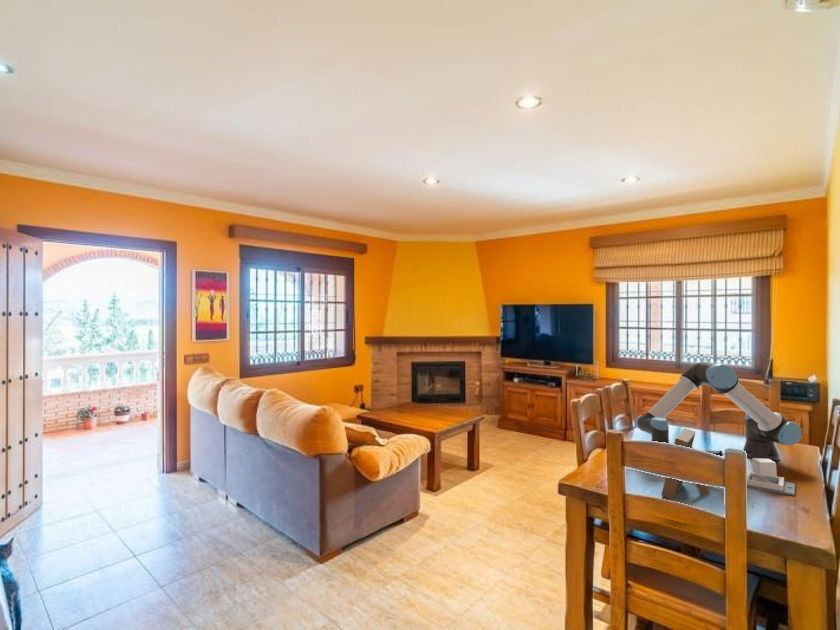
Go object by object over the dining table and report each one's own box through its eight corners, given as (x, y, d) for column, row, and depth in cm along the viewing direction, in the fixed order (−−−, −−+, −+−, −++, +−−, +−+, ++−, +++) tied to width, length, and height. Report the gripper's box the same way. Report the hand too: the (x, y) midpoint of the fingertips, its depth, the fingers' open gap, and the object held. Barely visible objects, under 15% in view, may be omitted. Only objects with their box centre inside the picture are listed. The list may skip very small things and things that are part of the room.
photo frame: (661, 497, 178) (659, 436, 178) (671, 482, 194) (669, 426, 195) (704, 506, 168) (702, 441, 169) (710, 489, 185) (709, 431, 186)
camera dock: (737, 476, 200) (737, 469, 200) (794, 485, 187) (794, 478, 187) (734, 485, 189) (733, 478, 189) (794, 496, 176) (794, 488, 176)
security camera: (777, 486, 184) (776, 462, 185) (758, 485, 186) (757, 461, 186) (769, 481, 190) (768, 458, 191) (750, 480, 192) (749, 457, 192)
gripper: (688, 455, 217) (740, 463, 204) (678, 468, 199) (735, 477, 185) (687, 440, 218) (740, 447, 204) (677, 451, 199) (734, 460, 185)
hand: (737, 461), depth 194 cm, fingers open, 13 cm apart
